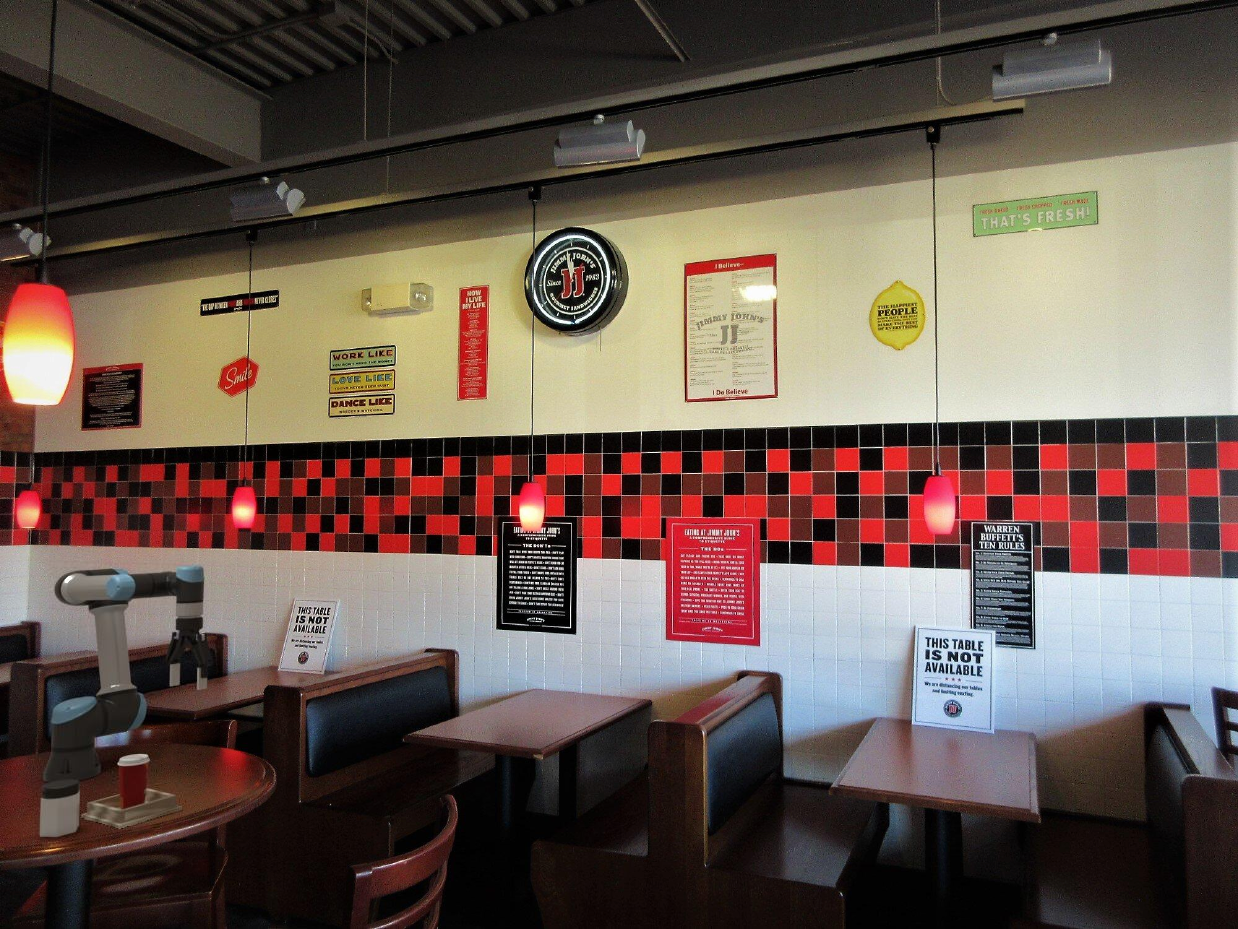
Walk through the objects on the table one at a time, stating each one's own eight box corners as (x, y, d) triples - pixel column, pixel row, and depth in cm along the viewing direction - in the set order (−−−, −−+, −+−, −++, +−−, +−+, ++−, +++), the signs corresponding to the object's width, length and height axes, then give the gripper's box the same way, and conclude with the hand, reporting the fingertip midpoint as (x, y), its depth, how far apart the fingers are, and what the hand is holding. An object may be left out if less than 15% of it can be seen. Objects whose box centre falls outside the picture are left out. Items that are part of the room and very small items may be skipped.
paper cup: (155, 806, 238) (156, 754, 239) (131, 815, 230) (132, 761, 231) (133, 804, 240) (134, 752, 241) (108, 813, 233) (110, 759, 234)
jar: (43, 829, 224) (45, 781, 225) (80, 824, 227) (82, 777, 228) (36, 840, 216) (38, 790, 217) (75, 835, 219) (76, 786, 220)
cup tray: (81, 818, 232) (81, 802, 232) (143, 800, 247) (143, 786, 247) (119, 829, 223) (120, 813, 223) (181, 810, 238) (182, 795, 238)
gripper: (226, 617, 262) (225, 688, 261) (176, 613, 275) (175, 682, 274) (203, 619, 256) (202, 693, 254) (153, 616, 269) (151, 686, 267)
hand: (188, 687), depth 264 cm, fingers open, 13 cm apart
